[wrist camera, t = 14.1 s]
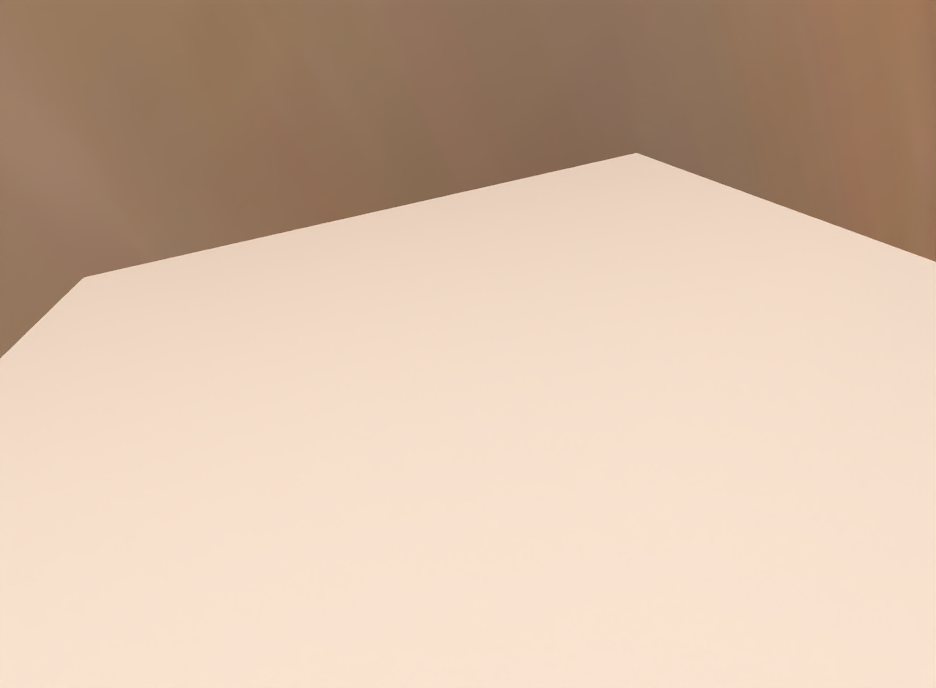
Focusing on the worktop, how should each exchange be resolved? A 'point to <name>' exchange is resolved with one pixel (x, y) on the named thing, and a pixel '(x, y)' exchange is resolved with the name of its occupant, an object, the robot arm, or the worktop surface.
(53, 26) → the worktop surface
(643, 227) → the cream matte cube
